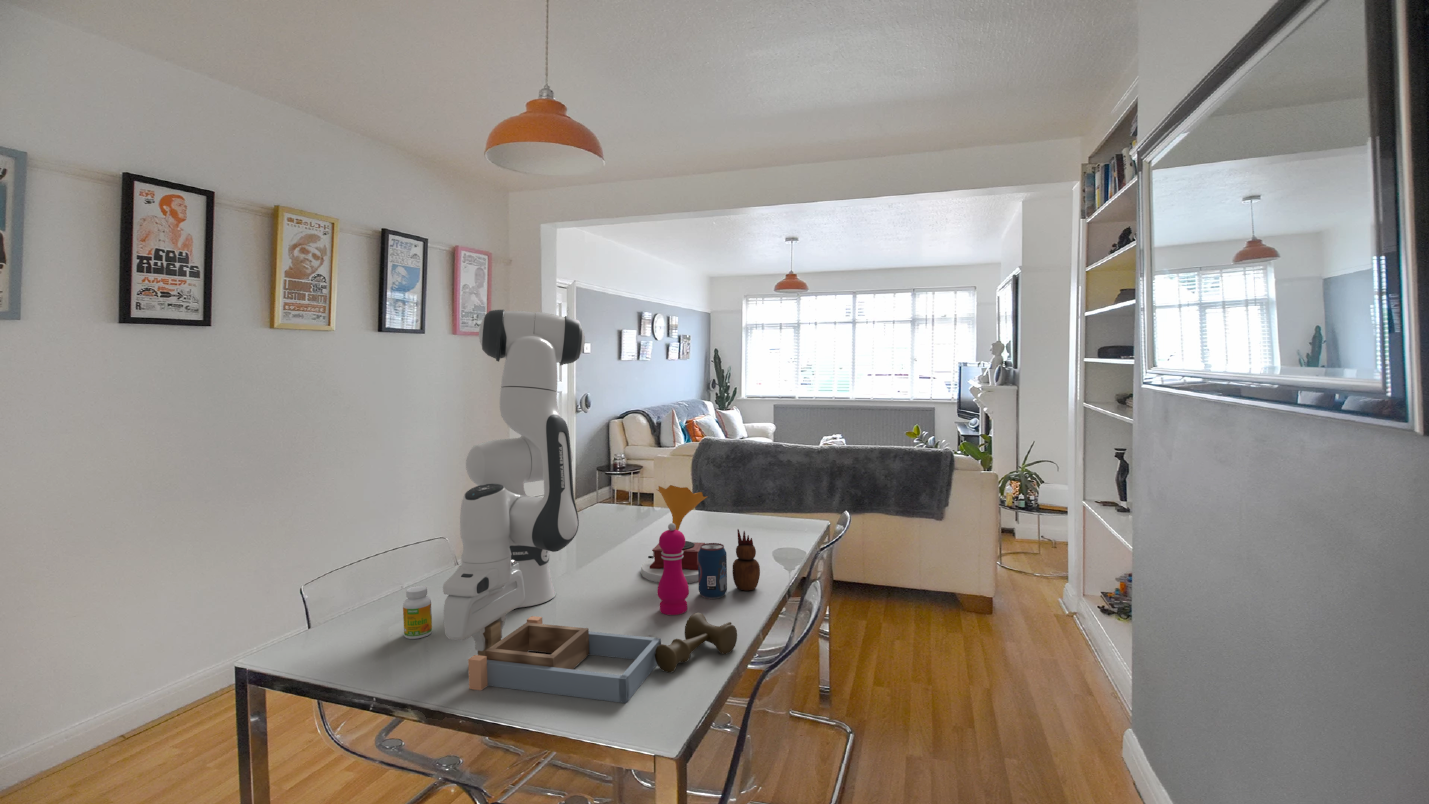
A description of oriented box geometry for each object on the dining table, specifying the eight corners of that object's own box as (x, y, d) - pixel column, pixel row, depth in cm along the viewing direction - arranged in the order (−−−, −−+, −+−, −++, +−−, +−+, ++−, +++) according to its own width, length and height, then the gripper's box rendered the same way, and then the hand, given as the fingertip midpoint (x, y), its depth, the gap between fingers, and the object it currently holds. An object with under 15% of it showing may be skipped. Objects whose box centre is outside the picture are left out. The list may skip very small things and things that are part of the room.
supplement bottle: (404, 641, 132) (402, 594, 132) (403, 632, 137) (401, 587, 137) (433, 636, 135) (431, 590, 134) (431, 627, 140) (429, 583, 139)
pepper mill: (685, 617, 143) (683, 527, 142) (653, 615, 145) (651, 526, 144) (692, 605, 150) (691, 520, 149) (662, 603, 152) (660, 519, 151)
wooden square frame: (460, 675, 116) (459, 636, 116) (503, 644, 129) (502, 610, 129) (554, 686, 111) (552, 646, 111) (589, 654, 124) (588, 618, 124)
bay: (469, 688, 112) (468, 659, 111) (532, 641, 131) (531, 616, 131) (621, 708, 104) (621, 677, 104) (664, 655, 124) (664, 628, 124)
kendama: (644, 667, 120) (713, 630, 135) (682, 684, 114) (750, 643, 129) (643, 636, 120) (712, 602, 135) (682, 651, 113) (750, 614, 129)
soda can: (700, 589, 161) (699, 542, 161) (728, 590, 160) (727, 542, 160) (697, 599, 154) (696, 549, 154) (726, 599, 154) (725, 549, 153)
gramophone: (709, 585, 165) (707, 487, 163) (631, 582, 168) (629, 486, 167) (722, 562, 185) (720, 475, 184) (652, 559, 188) (650, 474, 187)
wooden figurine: (729, 590, 160) (728, 530, 159) (737, 583, 165) (736, 525, 165) (755, 594, 157) (754, 532, 157) (762, 586, 163) (762, 527, 162)
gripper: (504, 555, 132) (506, 622, 133) (436, 588, 113) (438, 666, 113) (531, 557, 131) (533, 625, 131) (467, 590, 111) (469, 670, 112)
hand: (489, 644), depth 122 cm, fingers closed on wooden square frame, 3 cm apart
